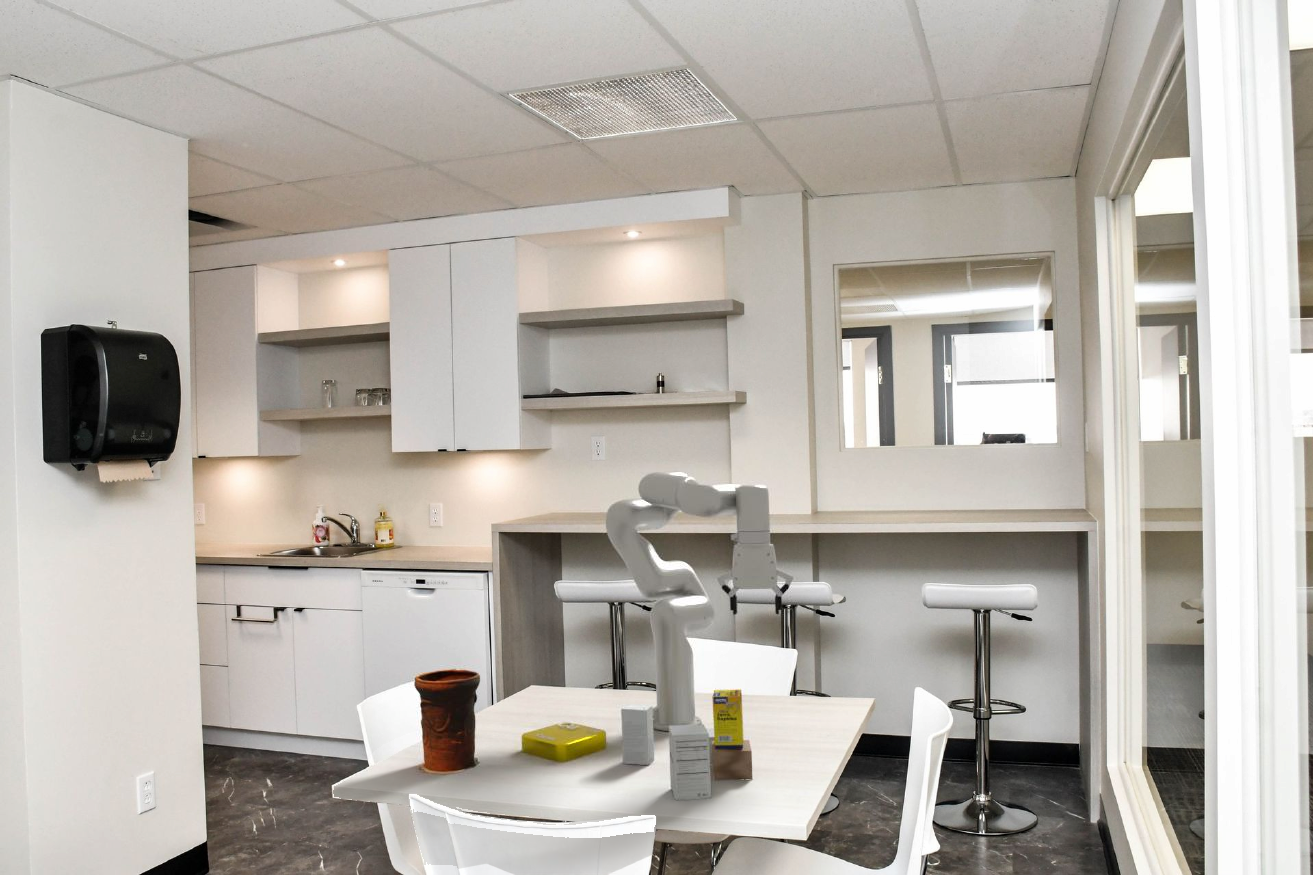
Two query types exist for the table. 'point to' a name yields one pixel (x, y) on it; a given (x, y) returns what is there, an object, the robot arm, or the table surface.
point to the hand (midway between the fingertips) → (756, 613)
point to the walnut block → (732, 762)
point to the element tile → (563, 742)
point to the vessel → (448, 719)
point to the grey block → (711, 738)
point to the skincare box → (637, 734)
